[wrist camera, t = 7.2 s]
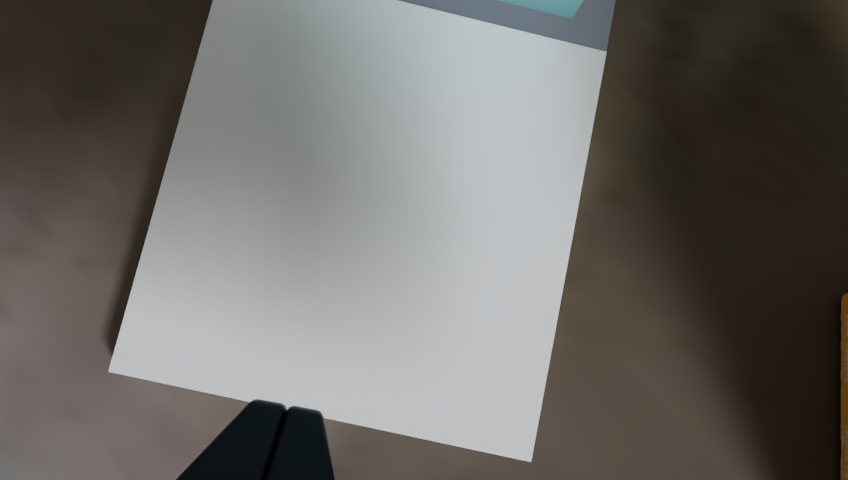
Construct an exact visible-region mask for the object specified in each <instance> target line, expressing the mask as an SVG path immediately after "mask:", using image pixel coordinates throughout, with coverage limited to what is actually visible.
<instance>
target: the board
mask: <svg viewBox="0 0 848 480" xmlns="http://www.w3.org/2000/svg"><path fill="white" fill-rule="evenodd" d="M615 2H616V0H584V1H583V2H582V4H581V5H580V7H579V8H578V10H577V11H576V13H575V15H574V16H573V18H572V19H570V18H566V17H562V16H558V15H554V14H550V13H546V12H542V11H538V10H534V9H530V8H526V7H522V6H518V5H514V4H510V3H506V2H502V1H498V0H213V2H212V5H211V9H210V12H209V16H208V19H207V23H206V26H205V30H204V34H203V37H202V41H201V44H200V48H199V51H198V55H197V58H196V62H195V65H194V69H193V73H192V76H191V80H190V83H189V87H188V90H187V94H186V97H185V101H184V104H183V108H182V112H181V115H180V119H179V122H178V126H177V129H176V133H175V136H174V140H173V143H172V147H171V151H170V154H169V158H168V161H167V165H166V168H165V172H164V175H163V179H162V182H161V186H160V190H159V193H158V197H157V200H156V204H155V207H154V211H153V214H152V218H151V221H150V225H149V229H148V232H147V236H146V239H145V243H144V246H143V250H142V253H141V257H140V260H139V264H138V268H137V271H136V275H135V278H134V282H133V285H132V289H131V292H130V296H129V299H128V303H127V307H126V310H125V314H124V317H123V321H122V324H121V328H120V331H119V335H118V338H117V342H116V346H115V349H114V353H113V356H112V360H111V363H110V367H109V370H108V372H112V373H116V374H121V375H126V376H130V377H135V378H140V379H144V380H149V381H154V382H158V383H163V384H168V385H172V386H177V387H182V388H186V389H191V390H196V391H201V392H205V393H210V394H215V395H219V396H224V397H229V398H233V399H238V400H243V401H247V402H251V401H253V400H255V399H260V400H265V401H271V402H276V403H281V404H283V405H285V406H286V408H287V409H288V408H289V407H291V406H298V407H303V408H308V409H314V410H318V411H320V412H321V413H322V415H323V417H324V418H327V419H332V420H336V421H341V422H346V423H350V424H355V425H360V426H364V427H369V428H374V429H378V430H383V431H388V432H392V433H397V434H402V435H406V436H411V437H416V438H420V439H425V440H430V441H434V442H439V443H444V444H449V445H453V446H458V447H463V448H467V449H472V450H477V451H481V452H486V453H491V454H495V455H500V456H505V457H509V458H514V459H519V460H523V461H528V462H531V460H532V455H533V450H534V444H535V439H536V433H537V428H538V422H539V417H540V412H541V406H542V401H543V395H544V390H545V384H546V379H547V374H548V368H549V363H550V357H551V352H552V346H553V341H554V336H555V330H556V325H557V319H558V314H559V308H560V303H561V298H562V292H563V287H564V281H565V276H566V270H567V265H568V260H569V254H570V249H571V243H572V238H573V232H574V227H575V222H576V216H577V211H578V205H579V200H580V194H581V189H582V184H583V178H584V173H585V167H586V162H587V156H588V151H589V146H590V140H591V135H592V129H593V124H594V118H595V113H596V108H597V102H598V97H599V91H600V86H601V80H602V75H603V70H604V64H605V59H606V53H607V52H606V51H607V45H608V40H609V34H610V29H611V24H612V18H613V13H614V7H615Z"/></svg>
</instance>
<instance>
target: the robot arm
mask: <svg viewBox="0 0 848 480" xmlns="http://www.w3.org/2000/svg"><path fill="white" fill-rule="evenodd" d="M176 480H336V478H335V473H334V468H333V463H332V458H331V453H330V448H329V443H328V437H327V432H326V427H325V422H324V417H323V415H322V413H321V412H320V411H318V410H314V409H308V408H303V407H298V406H291V407H289V408H288V409H287V408H286V406H285V405H283V404H281V403H276V402H271V401H265V400H260V399H255V400H253V401H251V402H250V403H249V404H247V405H246V407H245V408H244V409H243V410H242V411H241V412H240V413H239V414H238V415H237V416H236V417H235V418H234V419H233V420H232V421H231V422H230V423H229V424H228V425H227V427H226V428H225V429H224V430H223V431H222V432H221V433H220V434H219V435H218V436H217V437H216V438H215V439H214V440H213V441H212V442H211V443H210V444H209V445H208V447H207V448H206V449H205V450H204V451H203V452H202V453H201V454H200V455H199V456H198V457H197V458H196V459H195V460H194V461H193V462H192V463H191V464H190V465H189V467H188V468H187V469H186V470H185V471H184V472H183V473H182V474H181V475H180V476H179V477H178V478H177V479H176Z"/></svg>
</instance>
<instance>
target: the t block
mask: <svg viewBox="0 0 848 480" xmlns="http://www.w3.org/2000/svg"><path fill="white" fill-rule="evenodd" d="M498 1H502V2H506V3H510V4H514V5H518V6H522V7H526V8H530V9H534V10H538V11H542V12H546V13H550V14H554V15H558V16H562V17H566V18H570V19H572V18H573V16H574V15H575V13H576V11H577V10H578V8H579V7H580V5H581V4H582V2H583V1H584V0H498Z"/></svg>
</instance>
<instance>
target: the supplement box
mask: <svg viewBox="0 0 848 480" xmlns="http://www.w3.org/2000/svg"><path fill="white" fill-rule="evenodd" d="M841 323H842V326H841V436H840V437H841V474H840V475H841V480H848V293H846V294H844V295H843V297H842V301H841Z"/></svg>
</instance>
